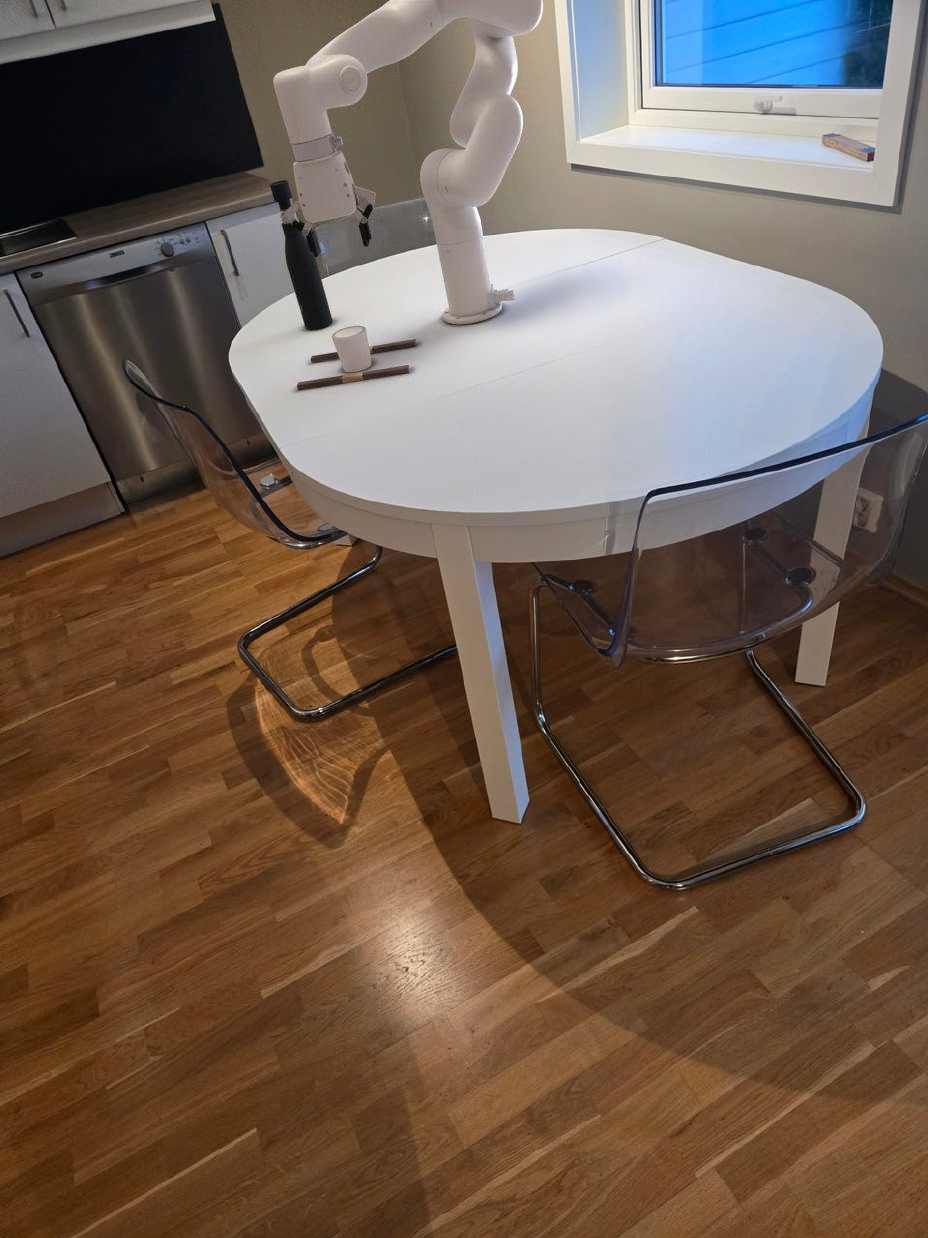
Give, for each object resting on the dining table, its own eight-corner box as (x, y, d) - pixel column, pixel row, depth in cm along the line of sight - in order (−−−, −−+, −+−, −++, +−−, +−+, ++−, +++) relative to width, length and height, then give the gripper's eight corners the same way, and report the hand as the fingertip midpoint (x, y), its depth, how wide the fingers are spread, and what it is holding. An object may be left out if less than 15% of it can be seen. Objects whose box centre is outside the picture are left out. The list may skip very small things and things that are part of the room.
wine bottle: (338, 319, 199) (299, 176, 182) (323, 330, 195) (282, 185, 177) (315, 319, 202) (275, 179, 184) (300, 330, 198) (257, 188, 180)
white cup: (367, 372, 169) (358, 336, 165) (335, 374, 171) (326, 340, 167) (379, 357, 174) (370, 323, 170) (347, 360, 176) (338, 326, 172)
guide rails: (416, 343, 177) (415, 338, 177) (408, 372, 165) (407, 367, 165) (313, 360, 180) (311, 355, 180) (298, 390, 169) (296, 385, 168)
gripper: (364, 134, 155) (389, 234, 165) (272, 155, 158) (302, 252, 168) (358, 142, 149) (384, 246, 159) (263, 164, 152) (294, 264, 162)
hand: (342, 249), depth 164 cm, fingers open, 9 cm apart
